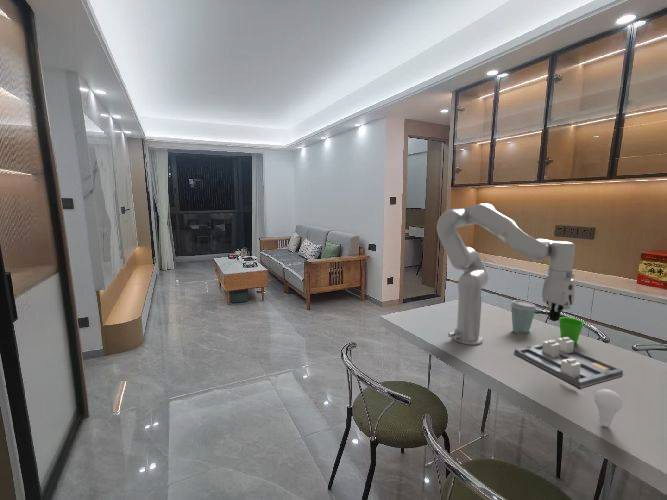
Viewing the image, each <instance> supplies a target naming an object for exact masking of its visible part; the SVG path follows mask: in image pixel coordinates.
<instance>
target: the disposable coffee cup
mask: <svg viewBox="0 0 667 500" xmlns="http://www.w3.org/2000/svg"><path fill="white" fill-rule="evenodd" d="M510 307H511V323H512V331H513V333H515V334H516V335H517V334H524V333H525V334H526V333H529V332H530V329H531V326H532V323H533V320H534V316H535V314H536V310H537V306H536V305H535V304H534V303H532V302H529V301H524V300H515V299H514V300H512V302H511V303H510Z"/></svg>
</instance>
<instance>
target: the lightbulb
mask: <svg viewBox="0 0 667 500" xmlns="http://www.w3.org/2000/svg"><path fill="white" fill-rule="evenodd" d="M593 398H594V403H595V405H596V406H597V409H598V416H599V418H598V419H599V420H598V423H599V425H601V426H602V427H603V428H610V427H611V425H612V421H613V419H614V417H615V415H616V414H617V413H618V412H620V410H622V408H623V400H622V397H621V396H620V395H619V394H618V393H617V392H615V391H614V390H612V389H610V388H609V389H608V388H601V389H599V390H597V391H596V392H595V393H594V397H593Z"/></svg>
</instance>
